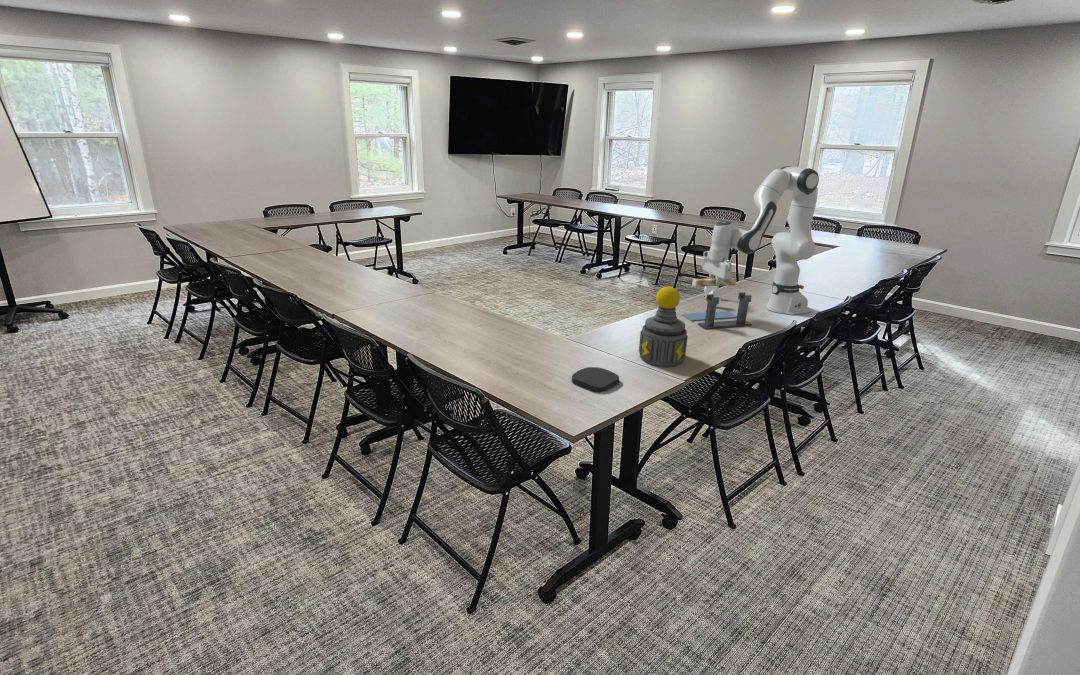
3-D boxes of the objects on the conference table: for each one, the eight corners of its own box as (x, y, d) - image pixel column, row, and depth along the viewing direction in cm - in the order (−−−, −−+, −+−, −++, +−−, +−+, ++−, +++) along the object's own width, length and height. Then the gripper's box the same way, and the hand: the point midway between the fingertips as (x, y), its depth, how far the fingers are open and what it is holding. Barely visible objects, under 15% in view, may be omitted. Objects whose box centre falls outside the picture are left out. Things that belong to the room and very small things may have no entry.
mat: (728, 312, 286) (728, 310, 286) (738, 317, 278) (738, 316, 278) (682, 315, 280) (682, 314, 280) (691, 321, 272) (691, 320, 272)
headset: (720, 308, 292) (725, 275, 285) (706, 307, 293) (711, 274, 286) (714, 297, 310) (719, 265, 304) (701, 296, 311) (706, 265, 305)
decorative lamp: (695, 361, 226) (704, 289, 215) (660, 371, 216) (669, 296, 206) (661, 346, 241) (669, 278, 230) (628, 354, 231) (634, 284, 220)
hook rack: (744, 321, 273) (748, 291, 268) (751, 325, 268) (756, 295, 263) (697, 324, 267) (702, 294, 262) (704, 329, 262) (708, 298, 256)
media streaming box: (599, 395, 197) (600, 387, 196) (567, 382, 206) (567, 375, 205) (623, 382, 207) (623, 375, 206) (591, 370, 216) (591, 363, 215)
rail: (732, 283, 277) (733, 277, 276) (735, 285, 275) (736, 279, 274) (692, 285, 272) (693, 279, 271) (695, 286, 269) (696, 280, 268)
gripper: (737, 260, 260) (732, 289, 265) (713, 251, 278) (709, 278, 283) (725, 261, 258) (720, 290, 263) (701, 251, 276) (697, 278, 281)
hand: (714, 284), depth 273 cm, fingers closed on rail, 3 cm apart
